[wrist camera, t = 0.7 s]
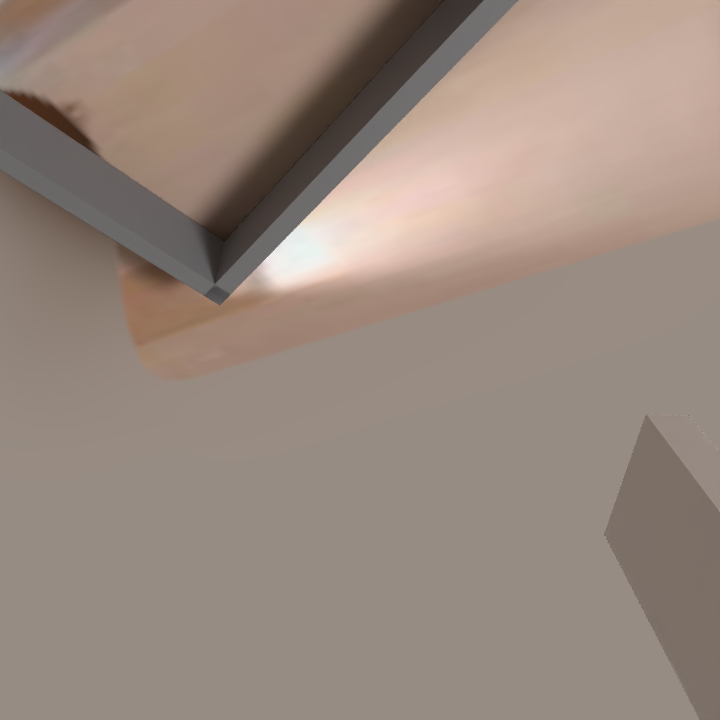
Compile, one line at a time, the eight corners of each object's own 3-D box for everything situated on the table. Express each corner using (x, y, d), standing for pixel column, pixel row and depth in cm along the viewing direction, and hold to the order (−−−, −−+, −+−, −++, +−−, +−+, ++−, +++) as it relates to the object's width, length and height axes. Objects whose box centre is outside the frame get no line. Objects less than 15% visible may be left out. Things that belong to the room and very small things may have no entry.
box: (181, -504, 20) (154, -541, 17) (532, -62, 28) (554, -37, 25) (-77, 60, 31) (-120, 95, 28) (228, 261, 39) (219, 305, 36)
